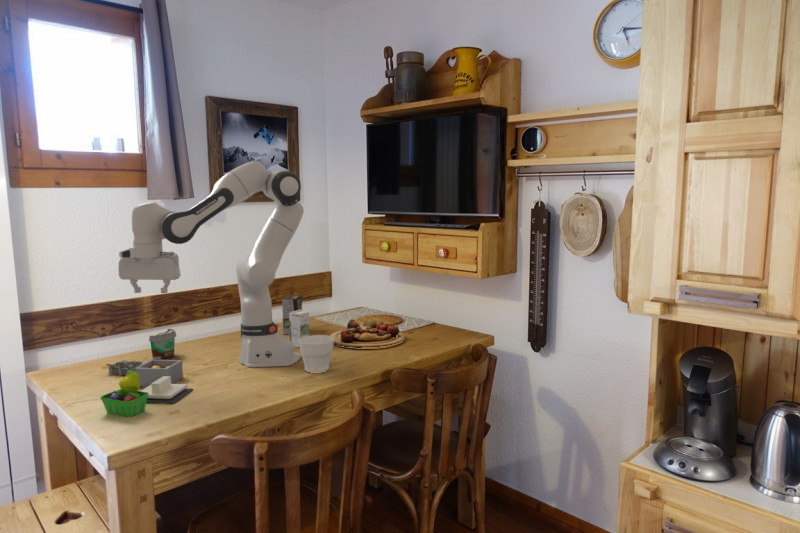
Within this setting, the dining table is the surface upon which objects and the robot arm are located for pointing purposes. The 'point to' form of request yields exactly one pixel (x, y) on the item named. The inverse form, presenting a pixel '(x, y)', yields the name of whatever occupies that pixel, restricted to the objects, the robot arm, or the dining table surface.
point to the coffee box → (290, 310)
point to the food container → (163, 345)
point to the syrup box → (298, 326)
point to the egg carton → (123, 367)
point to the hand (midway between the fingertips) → (151, 292)
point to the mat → (173, 399)
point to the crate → (159, 371)
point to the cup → (316, 352)
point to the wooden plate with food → (367, 335)
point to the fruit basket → (126, 397)
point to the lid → (163, 388)
